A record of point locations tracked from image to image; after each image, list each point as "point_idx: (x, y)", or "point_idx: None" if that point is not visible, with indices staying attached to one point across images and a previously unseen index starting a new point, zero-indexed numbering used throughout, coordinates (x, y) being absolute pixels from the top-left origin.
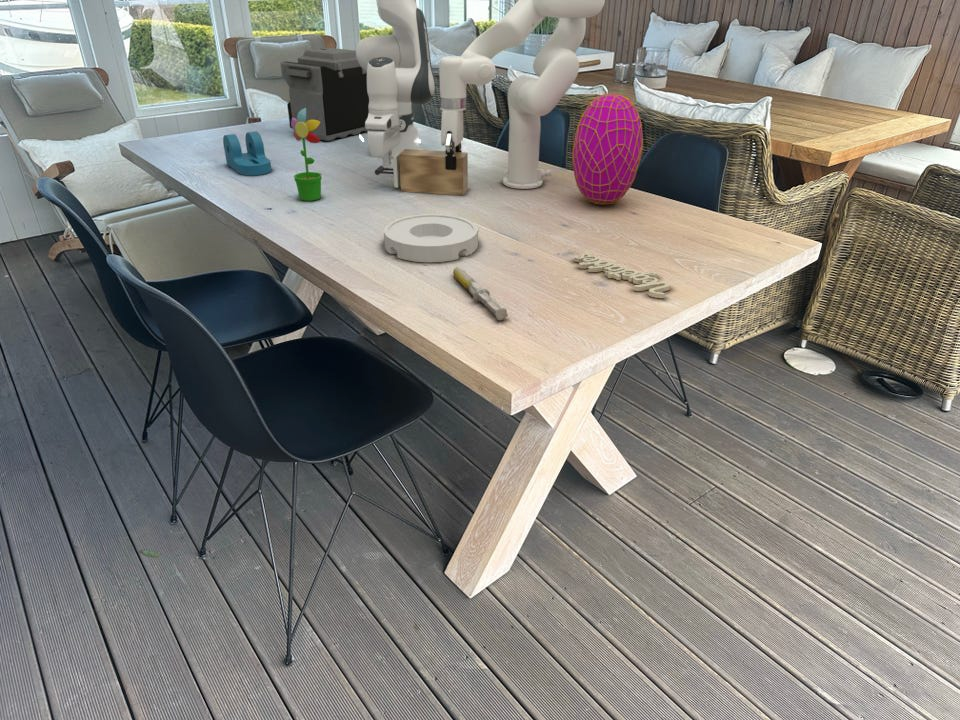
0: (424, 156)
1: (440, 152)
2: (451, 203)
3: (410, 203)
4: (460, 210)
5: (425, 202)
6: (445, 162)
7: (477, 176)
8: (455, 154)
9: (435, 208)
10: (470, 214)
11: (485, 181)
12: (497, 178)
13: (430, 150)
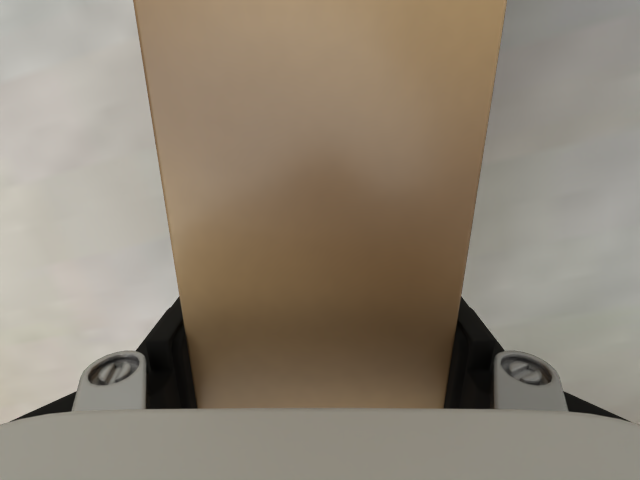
0: (139, 10)
1: (388, 216)
2: (124, 265)
3: (16, 33)
4: (44, 324)
5: (78, 125)
6: (178, 299)
7: (630, 294)
8: (324, 401)
9: (10, 207)
10: (15, 370)
11: (531, 345)
12: (586, 385)
13: (500, 18)
